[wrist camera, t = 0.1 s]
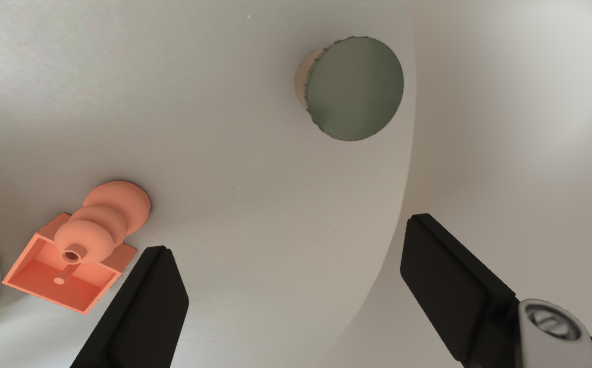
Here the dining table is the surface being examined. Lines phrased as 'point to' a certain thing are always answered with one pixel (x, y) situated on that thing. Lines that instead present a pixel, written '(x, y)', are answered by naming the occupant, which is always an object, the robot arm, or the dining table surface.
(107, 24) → the dining table surface
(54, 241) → the pottery
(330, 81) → the lid
